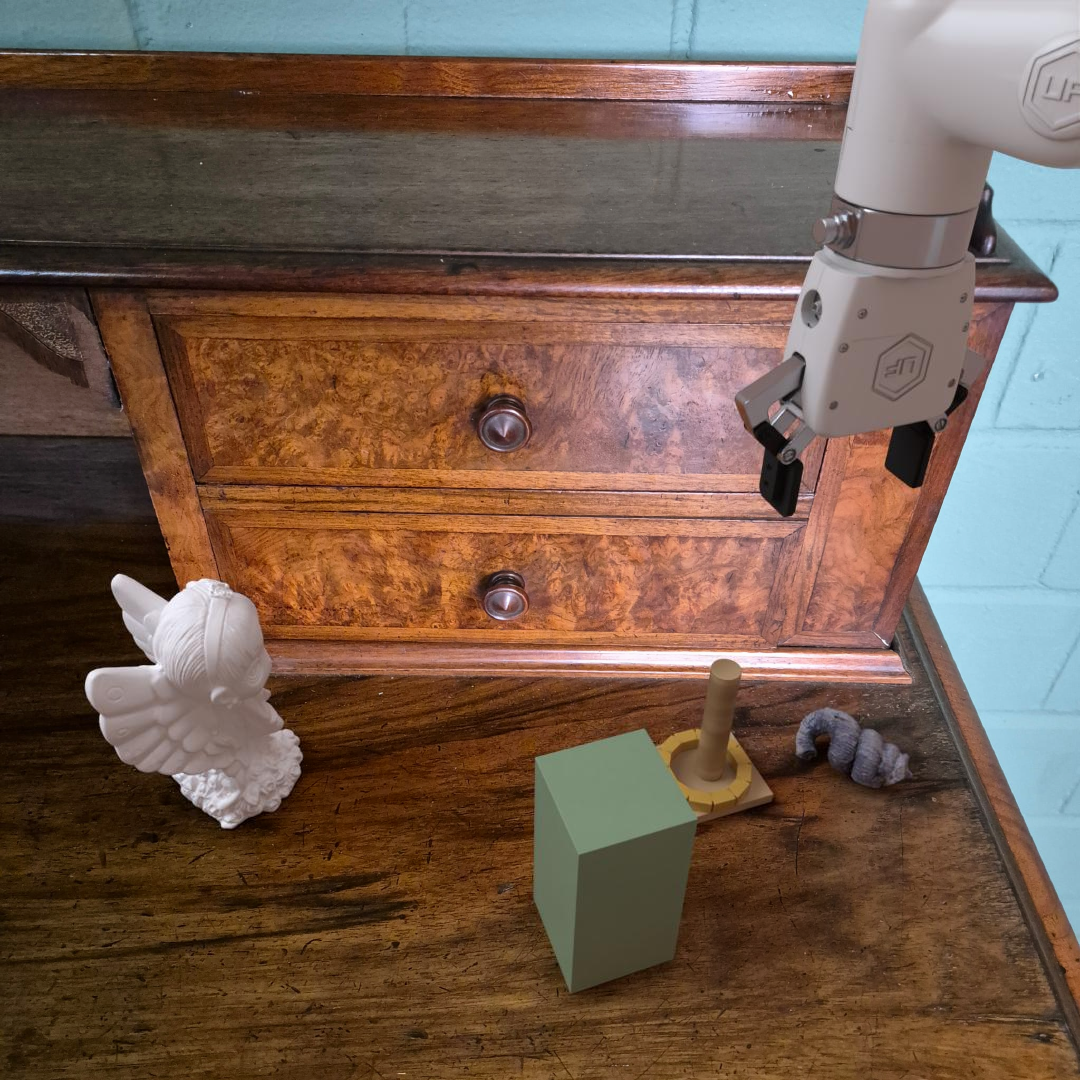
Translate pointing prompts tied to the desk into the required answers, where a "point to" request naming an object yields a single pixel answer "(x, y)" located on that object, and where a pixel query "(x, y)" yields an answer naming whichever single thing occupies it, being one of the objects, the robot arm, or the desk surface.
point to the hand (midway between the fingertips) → (840, 491)
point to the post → (718, 745)
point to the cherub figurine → (198, 700)
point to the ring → (718, 798)
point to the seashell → (853, 748)
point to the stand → (610, 857)
